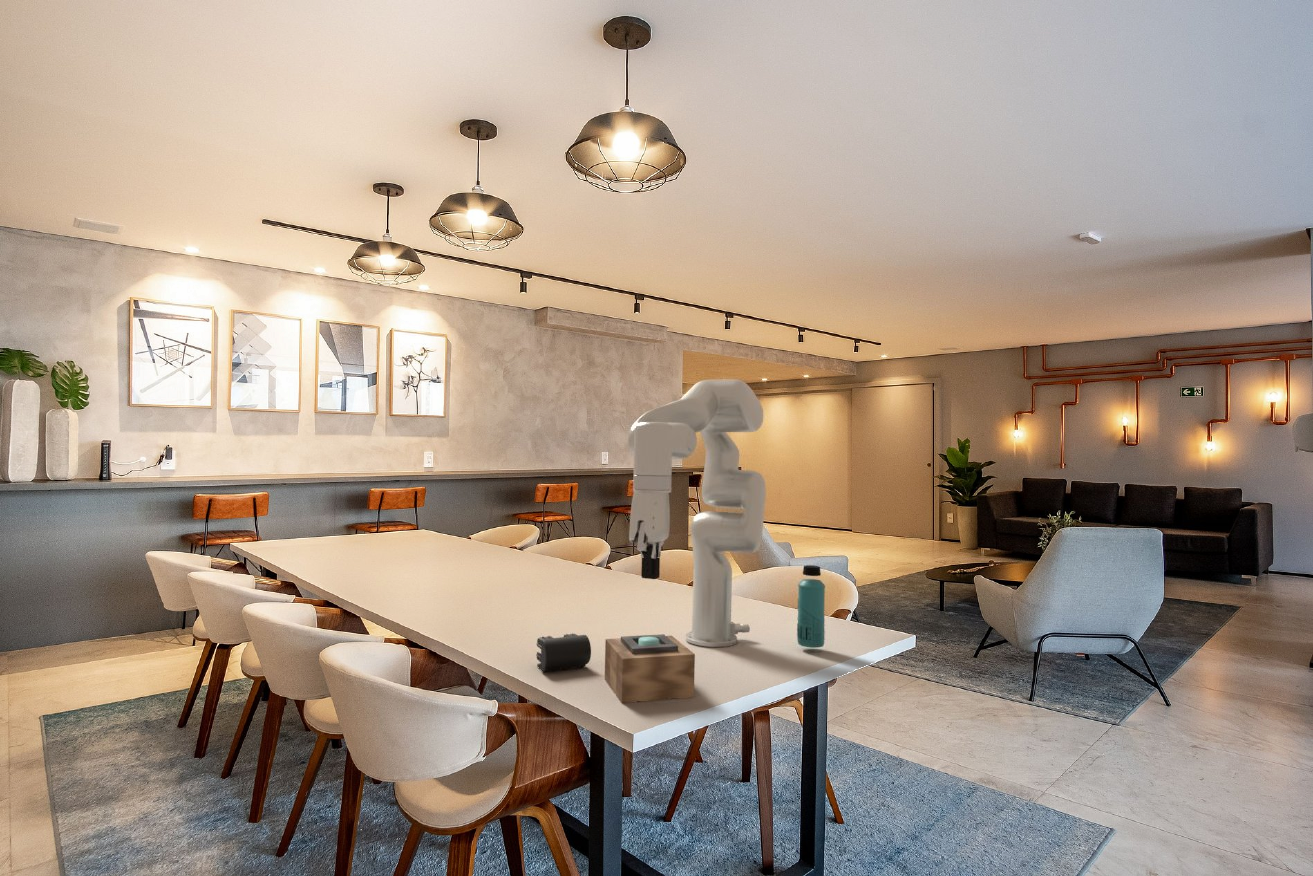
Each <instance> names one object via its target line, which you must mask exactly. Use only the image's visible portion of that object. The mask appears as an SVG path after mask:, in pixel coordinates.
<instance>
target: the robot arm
mask: <svg viewBox="0 0 1313 876" xmlns="http://www.w3.org/2000/svg"><path fill="white" fill-rule="evenodd" d="M763 422H764V409H763V405H762V403H761V401H760V400H759V398H758V397H757V395H756V394H755V392H754V391H753V389H752V388H751V387H750V386H749V385H748V383H746V382H745V381H743V380H741V379H737V378H731V379H730V378H729V379H728V378H727V379H725V378H723V379H703V380H700V381H698V382H696V383H695V384H694V385H692V387H691V388H690V389H689V390H687V392H685V394H684V395H683V396H682V397H681V398H680V399H678V400H674V401H672V402H669V403H667V404H664V405H662V406H658V407H656V408H653V409H651V410H648V411H646V412H644V413H643V414H642V415H641V416H640V417H639V418H637V420H636V421H635V422H634V423H633V424H632V425H631V427H630V428H629V431H628V433H627V447H628V449H629V452H630V453H631V455H633V477H632V478H633V479H632V482H633V483H632V484H633V485H632V492H633V494H632V500H631V507H630V519H629V530H628V533H629V534H628V539H629V542H630V543H632V544H635V543H637V546H636V550H637V551H639V552H640V557H641V568H640V569H641V575H640V576H641V579H648V580H656V579H658V578H660V576H661V575H660V574H661V573H660V572H661V571H660V570H661V569H660V567H661V566H660V565H661V564H660V563H661V560H660V559H661V558H660V557H661V553H662V546H664V544H665V540H667V539H668V538H669V536H670V527H671V526H670V525H671V524H670V523H671V520H670V519H671V517H670V515H671V512H670V496H669V493H672V469H673V468H672V467H673V466H672V465H673V460H683V459H686V458H689V457H690V456H692V455H693V454H694V452H695V450H696V448H697V443H698V439H697V434H696V433H699V432H700V435H701V438H702V440H703V443H704V446H705V447H704V448H705V461H704V468H703V475H702V485H701V498H702V501H703V503H704V504H706V505H708V506H710V507H713V508H714V507H715V508H727V509H741V510H743V513H742V512H728V511H714V510H712V511H702V512H701V511H700V512H699V513H697V514H695V515H694V517H693V518H692V520H691V522H690V527H689V528H690V538H691V544H692V545H691V546H692V556H693V559H692V560H693V569H692V570H693V574H692V575H693V577H692V578H693V579H692V580H693V581H692V583H693V584H692V585H693V586H692V618H691V619H692V621H691V622H692V623H691V624H692V625H691V626H692V627H691V631H689V632H687V633H686V634H685V640H686V642H688V643H690V644H692V645H694V646H695V645H696V646H700V647H707V648H708V647H709V648H710V647H711V648H722V647H729V646H732V645H735V644H737V642H738V637H737V635H738V633H742V634H743V633H750V629H751V628H750V625H749V623H747V624H741V623H740V622H739V623H735V622H734V621H732V604H733V603H732V602H733V601H732V600H733V599H732V597H733V596H732V595H733V590H732V589H733V569H732V565H731V562H730V560H729V559H728V558H727V556H726V555H725V552H729V553H739V554H750V553H751V554H754V553H755V552H757V551H758V550H759V548H760V546H761V544H762V543H761V542H762V538H763V529H764V518H765V510H766V509H765V507H766V495H767V487H766V482H765V478H764V477H763V474H761V473H760V472H759V471H756V470H751V469H750V470H745V469H739V462H740V451H739V448H738V446H737V444H736V443H735V442H734V440H733V439H732V438H731V437H730V435H729V434H728V433H754V432H757V431H758V430H759V429H760V428H761V427H762V424H763Z"/></svg>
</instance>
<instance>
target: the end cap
mask: <svg viewBox="0 0 1313 876" xmlns="http://www.w3.org/2000/svg"><path fill="white" fill-rule="evenodd" d="M536 647H538V648H539V649H540V652H539V651H537V652H536V654H535V655H536V656H535V657H536V659H537V660H538V662H539V663H537V664H536V666H537V668H538V667H539V668H540V669H541V670H542V671H543V673H546V672H547V673H548V672H553V671H561V670H569V669H577V668H578V667H579V668H584V667H586V665H587V664H589V663H590V661H591V657H592V646H591V642H590V639H589V637H588V636H587V634H581V635H580V634H579V635H578V634H576V633H570V634H568V633H566V634H563V636H561V637H560V636H559V637H552V636H551V635H548V636H539V637H538V638H537V640H536ZM539 668H538V669H539ZM540 669H539V670H540ZM541 670H540V671H541ZM542 671H541V672H542Z"/></svg>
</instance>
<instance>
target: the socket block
mask: <svg viewBox="0 0 1313 876" xmlns="http://www.w3.org/2000/svg"><path fill="white" fill-rule="evenodd" d="M641 637H656V638H658V639H659V645H644V646H639V638H641ZM604 643H605V645H604V646H605V649H604V650H605V651H604V655H605V656H604V680H605V682H606V684H608V687H610V689H611V690H612V692H613V693H614V695H615V694H616V695H615V696H616V698H617V699H618V698H619V699H618V700H619V701H621V702H620V703H621V704H625V703H626V704H627V703H637V701H641V702H651V701H650V700H653V701H661V700H660V699H665V700H670V699H669V698H678V699H687V698H688V699H689V697H690V698H694V697H695V673H696V672H695V667H696V666H695V664H696V654H695V653H694V652H693V651H691V650H690V649H689V648H688V647H687V646H685V645H684V644H683V643H682V642H680V641H679V640H678V639H676V638H675V637H674V636H673V635H665V634H663V633H662V634H646V635H645V634H644V635H628V636H627V635H626V636H620V638H605V642H604Z"/></svg>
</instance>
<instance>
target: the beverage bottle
mask: <svg viewBox="0 0 1313 876" xmlns="http://www.w3.org/2000/svg"><path fill="white" fill-rule="evenodd" d="M821 573H822V572H821V567H820V566H819V565H815V564H814V565H812V564H810V565H809V564H807V565H803V569H802V575H804V576H807V577H808V576H810V577H820V576H821ZM797 587H798V597H797V624H796V625H797V627H796V631H797V632H796V633H797V634H796V636H797V637H796V638H797V643H798V645H799V646H801V647H806V648H813V649H815V648H816V649H817V648H823V647H824V646H825V601H826V600H825V595H826V594H825V593H826V590H825V588H826V585H825V583H823V582H822V580H820V579H816V578H804V579H802V580H801V581H799V582H798V584H797Z"/></svg>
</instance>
